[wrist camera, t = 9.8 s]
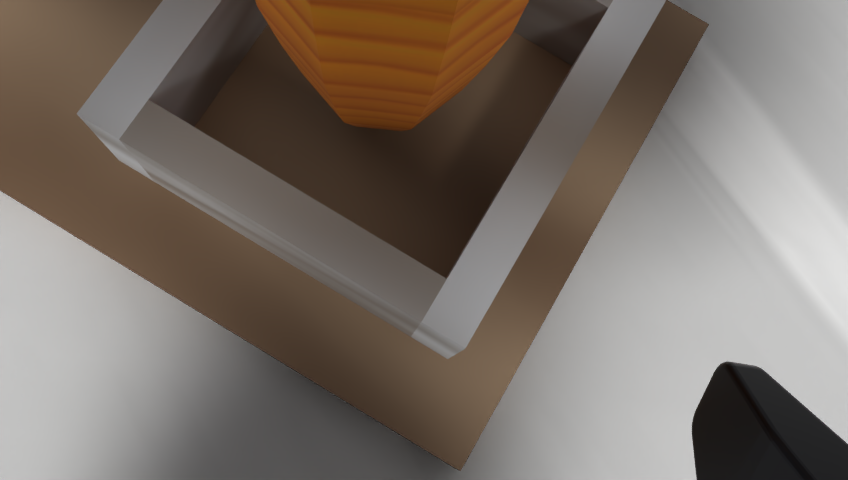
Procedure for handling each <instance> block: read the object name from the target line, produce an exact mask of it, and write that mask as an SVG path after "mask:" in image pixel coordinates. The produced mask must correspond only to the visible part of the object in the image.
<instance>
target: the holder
mask: <svg viewBox="0 0 848 480" xmlns="http://www.w3.org/2000/svg"><path fill="white" fill-rule="evenodd" d="M708 25H709V24H707V23H706V22H704V21H702V20H701V19H699V18H697V17H695V16H694V15H692V14H690V13H688V12H687V11H685V10H683V9H682V8H680V7H678V6H676V5H675V4H673V3H671V2H669V1H668V0H529V2H528V4H527V6H526V7H525V9H524V11H523V13H522V15H521V17H520V19H519V21H518V23H517V25H516V27H515V29H514V31H513V33H512V34H511V36H510V37H509V38H508V39H507V41H506V42H505V43H504V44H503V46H502V47H501V48H500V49H499V50H498V52H497V53H496V54H495V55H494V56H493V58H492V59H491V60H490V61H489V62H488V64H487V65H486V66H485V67H484V68H483V69H482V70H481V71H480V72H479V73H478V74H477V75H476V76H475V77H474V78H473V79H472V80H471V81H470V82H469V83H468V84H467V85H466V86H465V87H464V88H463V90H462V91H460V92H459V93H458V94H456V95H455V96H454V97H453V98H451V99H450V100H449V101H447V102H446V103H445V104H443V105H442V106H441V107H440V108H438V109H437V110H436V111H434V112H433V113H432V114H431V115H429V116H428V117H427V118H425V119H424V120H423V121H421V122H420V123H419V124H418V125H416V126H415V127H414V128H412V129H411V130H405V131H394V130H384V129H375V128H365V127H356V126H353V125H350V124H347V123H344V122H343V121H342V120H341V118H340V117H339V116H338V115H337V114H336V113H335V111H334V110H333V109H332V108H331V107H330V106H329V104H328V103H327V102H326V101H325V100H324V99H323V97H322V96H321V95H320V94H319V93H318V92H317V90H316V89H315V88H314V87H313V86H312V85H311V83H310V82H309V81H308V80H307V79H306V78H305V76H304V75H303V74H302V73H301V72H300V70H299V69H298V67H297V66H296V65H295V63H294V62H293V61H292V59H291V58H290V56H289V55H288V54H287V52H286V51H285V50H284V48H283V47H282V46H281V44H280V43H279V41H278V39H277V38H276V36H275V34H274V33H273V31H272V30H271V28H270V26H269V25H268V23H267V21H266V20H265V18H264V17H263V15H262V13H261V12H260V10H259V8H258V7H257V4H256V1H255V0H0V191H2V192H3V193H5V194H7V195H8V196H10V197H12V198H13V199H15V200H16V201H18V202H20V203H21V204H23V205H25V206H26V207H28V208H30V209H31V210H33V211H34V212H36V213H38V214H39V215H41V216H43V217H44V218H46V219H48V220H49V221H51V222H52V223H54V224H56V225H57V226H59V227H61V228H62V229H64V230H66V231H67V232H69V233H70V234H72V235H74V236H75V237H77V238H79V239H80V240H82V241H84V242H85V243H87V244H88V245H90V246H92V247H93V248H95V249H97V250H98V251H100V252H102V253H103V254H105V255H107V256H108V257H110V258H111V259H113V260H115V261H116V262H118V263H120V264H121V265H123V266H125V267H126V268H128V269H129V270H131V271H133V272H134V273H136V274H138V275H139V276H141V277H143V278H144V279H146V280H147V281H149V282H151V283H152V284H154V285H156V286H157V287H159V288H161V289H162V290H164V291H165V292H167V293H169V294H170V295H172V296H174V297H175V298H177V299H179V300H180V301H182V302H183V303H185V304H187V305H188V306H190V307H192V308H193V309H195V310H197V311H198V312H200V313H201V314H203V315H205V316H206V317H208V318H210V319H211V320H213V321H215V322H216V323H218V324H219V325H221V326H223V327H224V328H226V329H228V330H229V331H231V332H233V333H234V334H236V335H238V336H239V337H241V338H242V339H244V340H246V341H247V342H249V343H251V344H252V345H254V346H256V347H257V348H259V349H260V350H262V351H264V352H265V353H267V354H269V355H270V356H272V357H274V358H275V359H277V360H278V361H280V362H282V363H283V364H285V365H287V366H288V367H290V368H292V369H293V370H295V371H296V372H298V373H300V374H301V375H303V376H305V377H306V378H308V379H310V380H311V381H313V382H314V383H316V384H318V385H319V386H321V387H323V388H324V389H326V390H328V391H329V392H331V393H332V394H334V395H336V396H337V397H339V398H341V399H342V400H344V401H346V402H347V403H349V404H351V405H352V406H354V407H355V408H357V409H359V410H360V411H362V412H364V413H365V414H367V415H369V416H370V417H372V418H373V419H375V420H377V421H378V422H380V423H382V424H383V425H385V426H387V427H388V428H390V429H391V430H393V431H395V432H396V433H398V434H400V435H401V436H403V437H405V438H406V439H408V440H409V441H411V442H413V443H414V444H416V445H418V446H419V447H421V448H423V449H424V450H426V451H427V452H429V453H431V454H432V455H434V456H436V457H437V458H439V459H441V460H442V461H444V462H445V463H447V464H449V465H450V466H452V467H454V468H455V469H457V470H459V471H461V469H462V467H463V466H464V464H465V462H466V460H467V458H468V457H469V455H470V453H471V451H472V449H473V448H474V446H475V444H476V442H477V440H478V439H479V437H480V435H481V433H482V431H483V430H484V428H485V426H486V424H487V422H488V421H489V419H490V417H491V415H492V413H493V412H494V410H495V408H496V406H497V404H498V403H499V401H500V399H501V397H502V395H503V394H504V392H505V390H506V388H507V386H508V385H509V383H510V381H511V379H512V377H513V376H514V374H515V372H516V370H517V368H518V367H519V365H520V363H521V361H522V359H523V358H524V356H525V354H526V352H527V351H528V349H529V347H530V345H531V343H532V342H533V340H534V338H535V336H536V334H537V333H538V331H539V329H540V327H541V325H542V324H543V322H544V320H545V318H546V316H547V315H548V313H549V311H550V309H551V307H552V306H553V304H554V302H555V300H556V298H557V297H558V295H559V293H560V291H561V289H562V288H563V286H564V284H565V282H566V280H567V279H568V277H569V275H570V273H571V271H572V270H573V268H574V266H575V264H576V262H577V261H578V259H579V257H580V255H581V253H582V252H583V250H584V248H585V246H586V244H587V243H588V241H589V239H590V237H591V235H592V234H593V232H594V230H595V228H596V226H597V225H598V223H599V221H600V219H601V217H602V216H603V214H604V212H605V210H606V208H607V207H608V205H609V203H610V201H611V199H612V198H613V196H614V194H615V192H616V190H617V189H618V187H619V185H620V183H621V181H622V180H623V178H624V176H625V174H626V172H627V171H628V169H629V167H630V165H631V163H632V162H633V160H634V158H635V156H636V154H637V153H638V151H639V149H640V147H641V145H642V144H643V142H644V140H645V138H646V137H647V135H648V133H649V131H650V129H651V128H652V126H653V124H654V122H655V120H656V119H657V117H658V115H659V113H660V111H661V110H662V108H663V106H664V104H665V102H666V101H667V99H668V97H669V95H670V93H671V92H672V90H673V88H674V86H675V84H676V83H677V81H678V79H679V77H680V75H681V74H682V72H683V70H684V68H685V66H686V65H687V63H688V61H689V59H690V57H691V56H692V54H693V52H694V50H695V48H696V47H697V45H698V43H699V41H700V39H701V38H702V36H703V34H704V32H705V30H706V29H707V27H708Z"/></svg>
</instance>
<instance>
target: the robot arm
mask: <svg viewBox="0 0 848 480" xmlns="http://www.w3.org/2000/svg"><path fill="white" fill-rule="evenodd" d="M692 440H693V449H694V458H695V468H696V477H697V480H848V444H847V443H846V442H845V441H844V440H843V439H841V438H840V437H839V436H838V435H837V434H836V433H835V432H833V431H832V430H831V429H830V428H829V427H828V426H827V425H825V424H824V423H823V422H822V421H821V420H820V419H819V418H817V417H816V416H815V415H814V414H813V413H812V412H811V411H809V410H808V409H807V408H806V407H805V406H804V405H803V404H802V403H800V402H799V401H798V400H797V399H796V398H795V397H794V396H792V395H791V394H790V393H789V392H788V391H787V390H786V389H784V388H783V387H782V386H781V385H780V384H779V383H778V382H776V381H775V380H774V379H773V378H772V377H771V376H770V375H768V374H767V373H766V372H765V371H764V370H763V369H761V368H759V367H757V366H753V365H747V364H741V363H735V362H724V363H722V364H720V365H719V366H718V367H717V369H716V370H715V372H714V374H713V376H712V378H711V380H710V382H709V384H708V386H707V388H706V390H705V392H704V394H703V397H702V399H701V401H700V403H699V405H698V407H697V409H696V411H695V414H694V417H693V422H692Z"/></svg>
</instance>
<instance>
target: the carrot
mask: <svg viewBox="0 0 848 480" xmlns="http://www.w3.org/2000/svg"><path fill="white" fill-rule="evenodd" d="M255 1H256V4H257V7H258V8H259V10H260V12H261V13H262V15H263V17H264V18H265V20H266V21H267V23H268V25H269V26H270V28H271V30H272V31H273V33H274V34H275V36H276V38H277V39H278V41H279V43H280V44H281V46H282V47H283V48H284V50H285V51H286V52H287V54H288V55H289V56H290V58H291V59H292V61H293V62H294V63H295V65H296V66H297V67H298V69H299V70H300V72H301V73H302V74H303V75H304V76H305V78H306V79H307V80H308V81H309V82H310V83H311V85H312V86H313V87H314V88H315V89H316V90H317V92H318V93H319V94H320V95H321V96H322V97H323V99H324V100H325V101H326V102H327V103H328V104H329V106H330V107H331V108H332V109H333V110H334V111H335V113H336V114H337V115H338V116H339V117H340V118H341V120H342V121H343V122H344V123H347V124H350V125H353V126H356V127H365V128H375V129H384V130H394V131H405V130H411V129H412V128H414V127H415V126H416V125H418V124H419V123H420V122H421V121H423V120H424V119H425V118H427V117H428V116H429V115H431V114H432V113H433V112H434V111H436V110H437V109H438V108H440V107H441V106H442V105H443V104H445V103H446V102H447V101H449V100H450V99H451V98H453V97H454V96H455V95H456V94H458V93H459V92H460V91H462V90H463V88H464V87H465V86H466V85H467V84H468V83H469V82H470V81H471V80H472V79H473V78H474V77H475V76H476V75H477V74H478V73H479V72H480V71H481V70H482V69H483V68H484V67H485V66H486V65H487V64H488V62H489V61H490V60H491V59H492V58H493V56H494V55H495V54H496V53H497V52H498V50H499V49H500V48H501V47H502V46H503V44H504V43H505V42H506V41H507V39H508V38H509V37H510V36H511V34H512V33H513V31H514V29H515V27H516V25H517V23H518V21H519V19H520V17H521V15H522V13H523V11H524V9H525V7H526V6H527V4H528V2H529V0H255Z"/></svg>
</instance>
